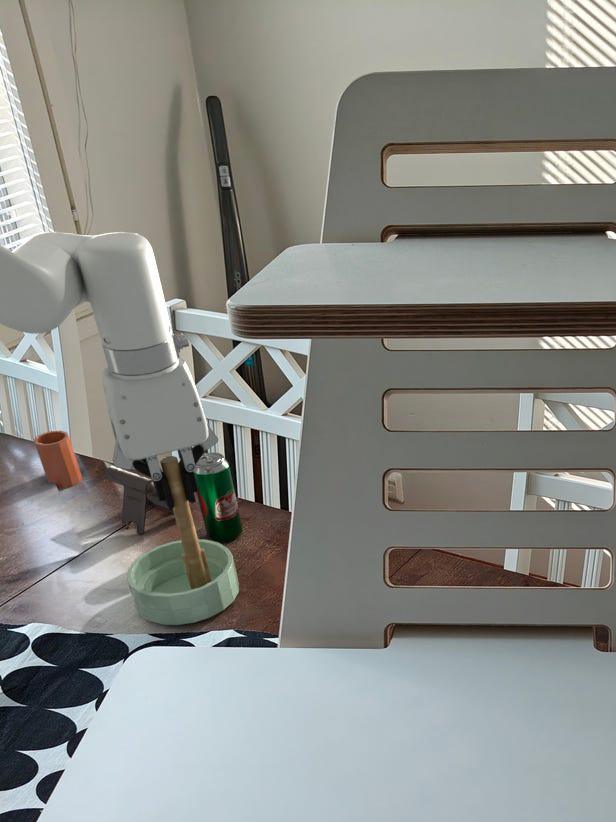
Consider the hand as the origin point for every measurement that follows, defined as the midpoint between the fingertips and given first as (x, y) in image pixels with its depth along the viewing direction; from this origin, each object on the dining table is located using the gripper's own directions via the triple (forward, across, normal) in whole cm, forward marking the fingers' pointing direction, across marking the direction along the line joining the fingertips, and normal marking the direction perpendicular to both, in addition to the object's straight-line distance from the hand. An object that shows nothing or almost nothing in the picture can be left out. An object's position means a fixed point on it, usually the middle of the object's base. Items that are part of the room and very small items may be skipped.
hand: (179, 500), depth 119 cm
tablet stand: (+15, +1, -24) cm, 29 cm away
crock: (+15, +10, -43) cm, 47 cm away
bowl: (+15, +2, -1) cm, 15 cm away
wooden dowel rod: (+13, 0, 0) cm, 13 cm away
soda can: (+15, -7, -14) cm, 22 cm away
